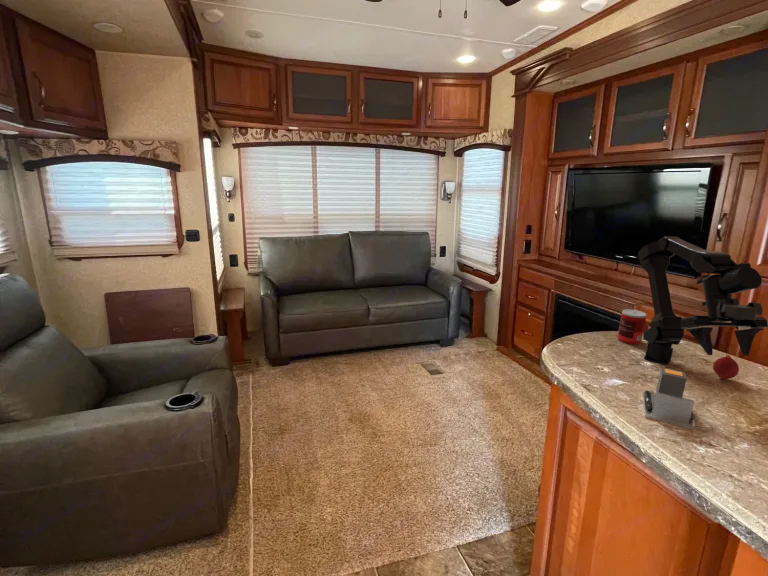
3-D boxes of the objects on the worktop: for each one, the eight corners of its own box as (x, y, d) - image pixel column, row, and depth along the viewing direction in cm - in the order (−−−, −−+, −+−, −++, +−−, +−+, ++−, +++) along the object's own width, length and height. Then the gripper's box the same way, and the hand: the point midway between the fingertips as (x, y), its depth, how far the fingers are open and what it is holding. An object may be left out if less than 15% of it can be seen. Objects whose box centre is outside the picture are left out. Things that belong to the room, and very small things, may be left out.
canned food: (639, 338, 148) (644, 310, 145) (642, 346, 141) (648, 317, 138) (616, 335, 151) (621, 307, 148) (618, 342, 144) (623, 314, 141)
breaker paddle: (654, 396, 106) (661, 366, 104) (677, 401, 104) (684, 371, 101) (655, 403, 103) (662, 373, 100) (679, 408, 100) (686, 378, 98)
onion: (735, 379, 118) (742, 354, 116) (734, 386, 114) (742, 361, 112) (711, 372, 122) (717, 349, 120) (709, 379, 118) (715, 354, 116)
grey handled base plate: (642, 395, 109) (647, 372, 107) (687, 405, 104) (693, 382, 102) (644, 417, 99) (650, 392, 97) (694, 429, 94) (701, 404, 92)
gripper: (706, 290, 99) (716, 353, 95) (782, 291, 98) (795, 354, 95) (675, 298, 110) (683, 355, 106) (743, 300, 109) (754, 356, 106)
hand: (728, 355), depth 103 cm, fingers open, 9 cm apart
